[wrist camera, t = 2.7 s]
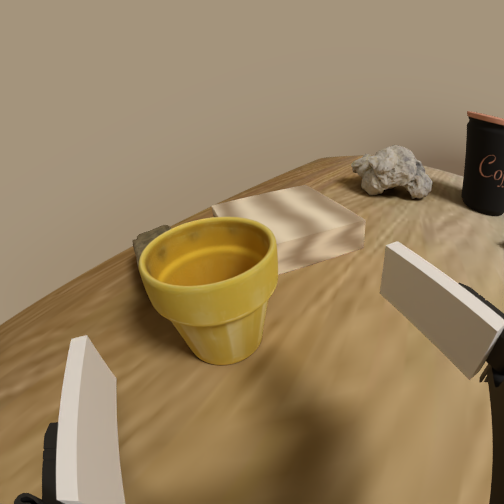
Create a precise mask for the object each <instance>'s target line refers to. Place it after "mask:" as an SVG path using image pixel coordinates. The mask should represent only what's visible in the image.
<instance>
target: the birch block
mask: <svg viewBox="0 0 504 504" xmlns="http://www.w3.org/2000/svg"><path fill="white" fill-rule="evenodd" d="M212 211H213V216H214V217H240V218H247V219H251V220H254V221H257V222H259V223H262V224H263V225H265V226H266V227H268V228H269V229H270V230H271V231H272V233H273V234H274V236H275V239H276V244H277V254H278V275H279V274H282V273H286V272H289V271H292V270H296V269H299V268H302V267H305V266H308V265H312V264H315V263H318V262H321V261H324V260H328V259H331V258H334V257H337V256H340V255H343V254H346V253H349V252H352V251H356V250H359V249H362V248H364V235H365V219H363V218H362V217H360V216H358V215H357V214H355V213H353V212H352V211H350V210H349V209H347V208H345V207H344V206H342V205H340V204H338V203H337V202H335V201H333V200H332V199H330V198H328V197H326V196H325V195H323V194H321V193H319V192H318V191H316V190H314V189H312V188H311V187H309V186H307V185H303V186H298V187H293V188H288V189H283V190H278V191H274V192H269V193H264V194H260V195H255V196H251V197H247V198H242V199H238V200H234V201H229V202H225V203H221V204H217V205H213V206H212Z"/></svg>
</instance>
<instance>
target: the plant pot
mask: <svg viewBox="0 0 504 504" xmlns="http://www.w3.org/2000/svg"><path fill="white" fill-rule="evenodd" d="M139 272H140V275H141V278H142V281H143V284H144V287H145V289H146V292H147V294H148V297H149V299H150V301H151V303H152V305H153V307H154V308H155V309H156V311H157V312H158V313H159V314H161V315H162V316H163V317H165V318H166V319H168V320H170V321H171V322H172V323H173V325H174V326H175V328H176V329H177V330H178V332H179V333H180V335H181V336H182V337H183V339H184V340H185V342H186V343H187V344H188V346H189V347H190V349H191V350H192V351H193V353H194V354H195V355H196V356H197V357H198V358H199V359H201V360H203V361H205V362H207V363H210V364H214V365H229V364H234V363H237V362H240V361H242V360H244V359H246V358H247V357H249V356H250V355H252V354H253V353H254V352H255V350H256V349H257V348H258V346H259V344H260V342H261V339H262V333H263V327H264V321H265V315H266V309H267V303H268V299H269V298H270V296H271V295H272V294H273V292H274V290H275V288H276V285H277V281H278V254H277V244H276V239H275V236H274V234H273V233H272V231H271V230H270V229H269V228H268V227H266V226H265V225H263V224H262V223H259V222H257V221H254V220H251V219H247V218H240V217H213V218H206V219H200V220H196V221H192V222H188V223H185V224H182V225H179V226H177V227H174V228H172V229H170V230H168V231H166V232H164V233H163V234H161V235H159V236H158V237H157V238H155V239H154V240H153V241H151V242H150V243H149V244H148V245H147V246H146V248H145V249H144V250H143V252H142V253H141V256H140V259H139Z"/></svg>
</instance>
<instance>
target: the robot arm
mask: <svg viewBox="0 0 504 504" xmlns="http://www.w3.org/2000/svg"><path fill="white" fill-rule="evenodd" d="M380 294H381V295H382V296H383V297H384V298H385V299H387V300H388V301H389V302H390V303H391V304H392V305H393V306H394V307H395V308H396V309H397V310H398V311H400V312H401V313H402V314H403V315H404V316H405V317H406V318H407V319H408V320H409V321H410V322H411V323H412V324H413V325H414V326H416V327H417V328H418V329H419V330H420V331H421V332H422V333H423V334H424V335H425V336H426V337H427V338H428V339H429V340H430V341H431V342H432V343H433V344H434V345H435V346H436V347H437V348H438V349H439V350H440V351H441V352H442V353H443V354H444V355H445V356H446V357H447V358H448V359H449V360H450V361H451V362H452V363H453V364H454V365H455V366H456V367H457V368H458V369H459V370H460V371H461V372H462V373H463V374H464V375H465V376H466V377H467V378H468V379H469V380H470V379H471V378H472V377H474V376H475V375H476V374H477V373H478V372H479V371H480V369H481V368H482V366H483V365H484V363H485V361H486V362H487V363H488V365H487V367H486V368H485V370H484V371H483V373H482V375H481V376H480V381H479V382H482V381H483V379H484V378H485V376H486V375H487V377H486V378H485V381H484V382H488V384H489V392H490V402H491V414H492V432H493V465H492V483H491V494H490V503H489V504H504V314H503V313H502V312H501V311H500V310H499V309H497V308H496V307H495V306H494V305H492V304H491V303H490V302H489V301H487V300H485V298H483V297H482V296H481V295H478V293H477V292H476V291H474V290H473V289H472V288H470V287H468V286H466V285H464V284H461V283H457V282H455V281H454V280H453V279H451V278H450V277H449V276H447V275H446V274H444V273H443V272H442V271H440V270H439V269H437V268H436V267H435V266H433V265H432V264H430V263H429V262H427V261H426V260H425V259H423V258H422V257H420V256H419V255H417V254H416V253H414V252H413V251H411V250H410V249H408V248H407V247H405V246H404V245H402V244H401V243H399V242H398V241H397V242H394V243H391V244H389V245H386V248H385V257H384V266H383V273H382V281H381V287H380ZM43 459H44V461H43V467H42V500H41V499H39V498H37V497H35V496H33V495H31V494H29V493H22V494H20V495H19V496H18V497H17V498H16V499H15V501H14V504H125V498H124V492H123V484H122V476H121V468H120V458H119V446H118V431H117V405H116V378H115V376H114V375H113V373H112V372H111V371H110V369H109V368H108V366H107V365H106V363H105V362H104V360H103V359H102V358H101V356H100V355H99V353H98V351H97V350H96V348H95V347H94V345H93V344H92V342H91V341H90V339H89V337H88V336H87V335H86V336H82V337H78V338H73V339H71V343H70V348H69V353H68V358H67V364H66V369H65V375H64V382H63V388H62V395H61V403H60V412H59V422H56V423H50V424H49V426H48V428H47V431H46V433H45V436H44V451H43Z"/></svg>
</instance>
